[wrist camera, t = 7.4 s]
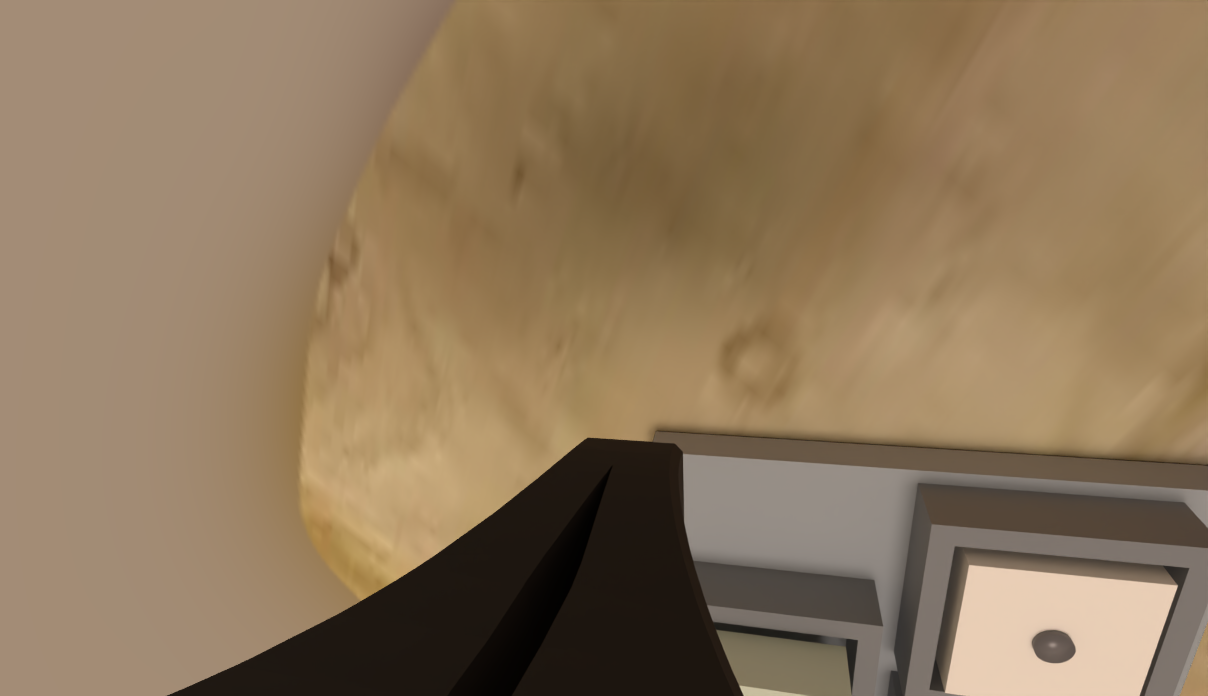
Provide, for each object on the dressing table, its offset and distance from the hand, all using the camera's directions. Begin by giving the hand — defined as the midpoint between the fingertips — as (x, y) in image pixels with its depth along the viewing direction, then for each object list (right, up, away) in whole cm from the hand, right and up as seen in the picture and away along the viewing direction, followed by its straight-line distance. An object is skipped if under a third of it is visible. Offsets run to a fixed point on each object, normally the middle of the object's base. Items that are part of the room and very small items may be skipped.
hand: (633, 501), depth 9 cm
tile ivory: (+11, -5, +9) cm, 15 cm away
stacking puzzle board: (+9, -7, +13) cm, 17 cm away
